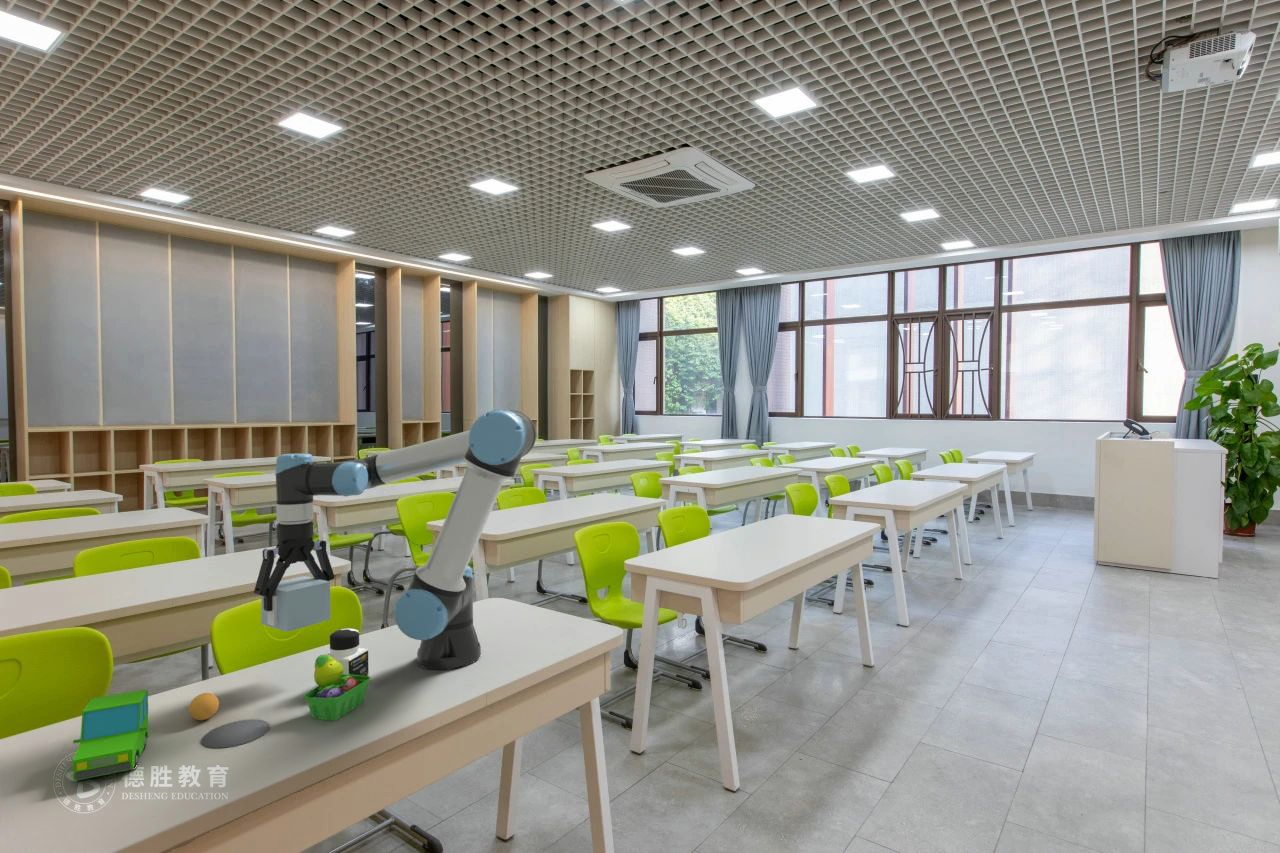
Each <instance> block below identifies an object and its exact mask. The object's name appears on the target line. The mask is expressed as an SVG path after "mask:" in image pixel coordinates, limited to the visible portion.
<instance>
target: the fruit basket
mask: <svg viewBox="0 0 1280 853" xmlns="http://www.w3.org/2000/svg"><path fill="white" fill-rule="evenodd" d="M343 671H344V669H343V666H342V665H341V664H340V663H339V662H338V661H336V660H335V659H333V658H332V657H331V656H328V655H327V653H325V654H320V655H319V656H317V657H316V659H315V662H314V671H313V672H314V674H313V678H314V682H315V684H316V685H317V686H316V687H315V688H313V689H311V690H309V691H308V692H306V693H305V694H304V695H303V696H304V699H305V701H306V702H307V705H308V708H309V711H310V714H311V716H312V718H313V719H316V720H317V719H318V720H324V721H333V722H335V721H337V720H338V719H340V717H342V716H344V715H346V714H347V713H349V712H350V711H352V710H353V709H355V708H356V707H357V706H359V705H361V704H362V703H363V702H364V701H365V696H366V692H367V688H368V686H369V685H368V684H369V682H370V680H371V676H360V675H351V674H343Z"/></svg>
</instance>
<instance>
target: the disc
mask: <svg viewBox="0 0 1280 853" xmlns="http://www.w3.org/2000/svg"><path fill="white" fill-rule="evenodd" d="M270 726H271V725H270V723H269V722H268V721H266V720H264V719H254V718H253V719H249V718H248V719H241V720H237V721H231V722H227V723H225V724H222V725H220V726H217V727H215V728H214V729H211V730H209V731H208V732H207V733H205V734H204V735H203V736H202V738H201V743H202V745H203V746H204V747H206V748H211V749H226V748H232V747H238V746H241V745H245V744H248V743H251V742H253V741H255V740H257V739H260V738H261V737H262V736H264V735H265V734H266V733H267V732H268V731H269V730H270Z"/></svg>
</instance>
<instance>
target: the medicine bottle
mask: <svg viewBox="0 0 1280 853" xmlns="http://www.w3.org/2000/svg"><path fill="white" fill-rule="evenodd" d="M326 655H328V656H331V657H332V658H333V659H335V660H336V661H338V662H339V663H340V664H341V665H342V666H343V669H344V671H343V674H351V675H360V676H369V671H370V670H369V649H368V648H363V647H360V632H359V630H358V629H355V628H341V629H339V630H335V631H334V632H331V633H330V635H329V653H326ZM369 677H370V676H369Z"/></svg>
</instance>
